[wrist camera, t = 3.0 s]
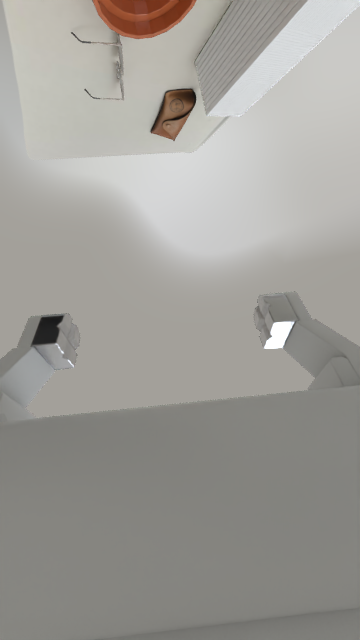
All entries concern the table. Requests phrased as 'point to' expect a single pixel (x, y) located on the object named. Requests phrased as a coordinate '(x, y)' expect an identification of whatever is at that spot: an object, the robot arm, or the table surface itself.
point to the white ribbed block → (261, 48)
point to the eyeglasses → (117, 65)
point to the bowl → (142, 15)
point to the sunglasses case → (174, 112)
